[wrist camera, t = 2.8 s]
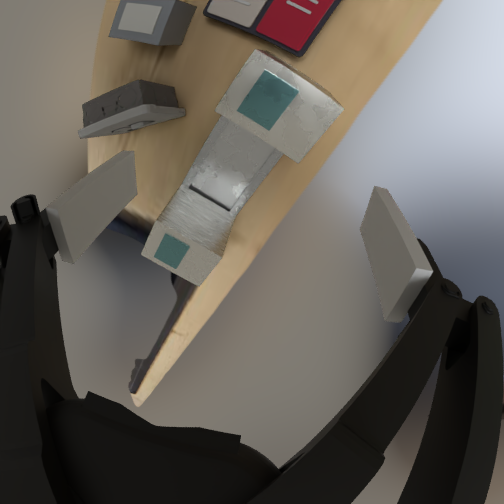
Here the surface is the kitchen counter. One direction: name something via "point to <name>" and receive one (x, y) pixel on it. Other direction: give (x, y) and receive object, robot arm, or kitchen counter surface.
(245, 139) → the grey u-shaped block
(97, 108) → the electrical switch
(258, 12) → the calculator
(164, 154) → the kitchen counter surface
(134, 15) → the block
